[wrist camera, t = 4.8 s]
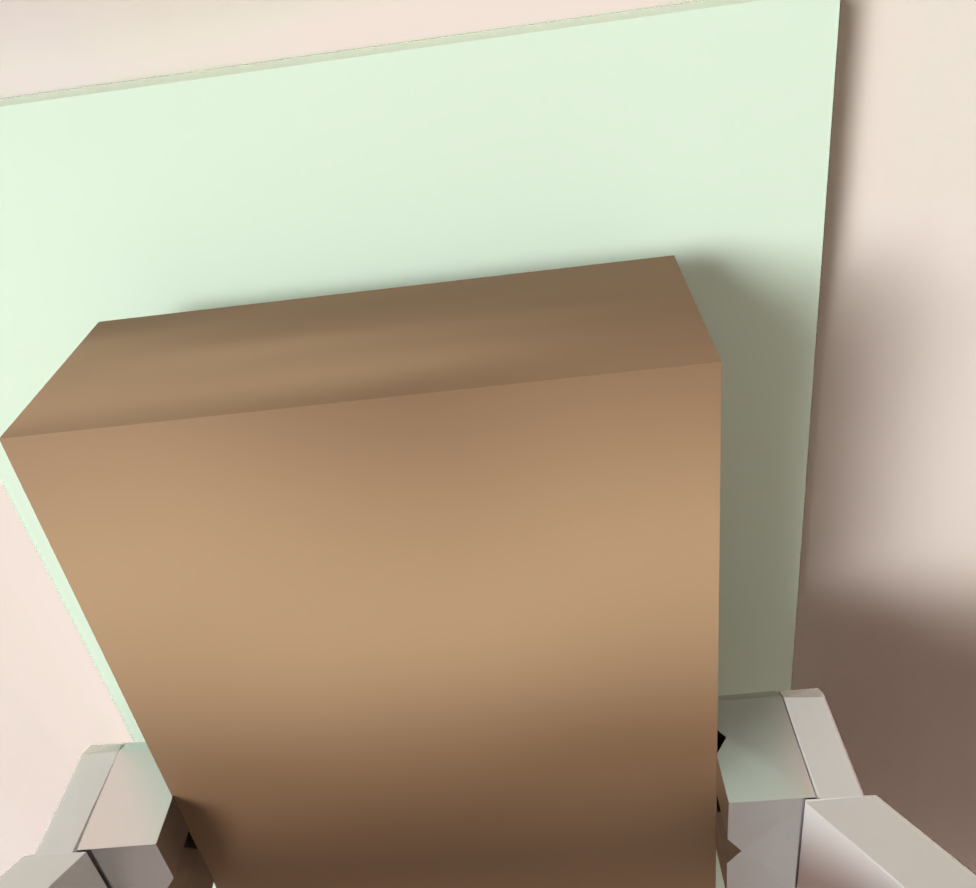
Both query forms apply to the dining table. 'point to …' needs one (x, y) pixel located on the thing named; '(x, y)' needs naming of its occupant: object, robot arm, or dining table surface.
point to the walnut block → (408, 574)
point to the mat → (461, 220)
